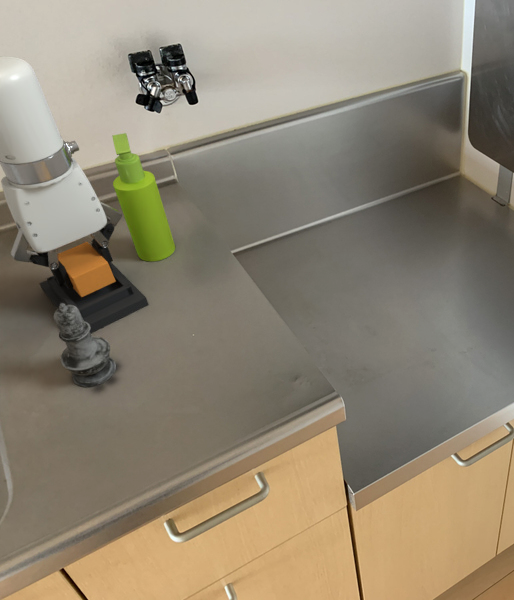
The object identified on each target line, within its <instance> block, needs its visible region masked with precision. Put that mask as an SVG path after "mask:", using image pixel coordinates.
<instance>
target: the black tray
mask: <svg viewBox="0 0 514 600" xmlns="http://www.w3.org/2000/svg"><path fill="white" fill-rule="evenodd" d="M110 264H111V267H112V269H113V270H112V274H113V276H114V278H115V281H116V282H114V283H111V284H109V285H107V286H105V287H103V288H101V289H99V290H96V291H94V292H92V293H90V294H88V295H86V296H84V297H81V296H80V295H79V294H78V293H77V292H76V291H75V289H74V288H73V289H71V290H69V289H68V288H67V287H66V286H65V284H64V283H63V284H61V285H59V284H58V282H57V281H56V279H55V277H54V275H52V276H50V277H47V278H46V280H44V281H42V282H39V286H40V288H41V290H42V291H43V293H44V294H45V295H46V297H47V298H48V299H49V300H50V301H51V303H52V304H53V305H54V307H55V308H56V310H57V309H58V308H60V307H59V305H60V303H63V304H65V305H73V306H75V307H77V308H78V309H79V311H80V314H81V316H82V318H83V320H84V321H85V322H87V323H88V324H89V325H90V333H91V334H93V333H94V332H96V331H98V330H100V329H103V328H105V327H107V326H109V325H111V324H113V323H114V322H116V321H119V320H121V319H123V318H125V317H127V316H129V315H131V314H133V313H135V312H137V311H139V310H141V309H143V308H145V307H147V306H149V302H148V299H147V297H146V296H145V294H143V293H142V291H140V289H139V288H137V286H135V284H134V283H132V281H130V279H129V278H128V277H127V276H126V275H125V274H124V273H123V272H121V270H120V269H118V267H117V266H116V265H115V264H113V261H112V262H110Z"/></svg>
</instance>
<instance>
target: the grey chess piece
mask: <svg viewBox="0 0 514 600" xmlns="http://www.w3.org/2000/svg"><path fill="white" fill-rule="evenodd" d="M59 307H60V308H58V309H57V308H56V310H55V311H54V313H53V319H54V322H55V324H56V326H57V327H58V330H59V333H58V337H59V339H60V340H61V341H62V342H64V343H65V345H66V347H65V349H64V350H63V351H62V352H61V355H60V359H59V361H60V364H61V366H63V368H64V369H67V370H68V371H69V372H70V373H72V381H73V383H75V385H77V386H79V387H82V388H92V387H96V386H97V387H98V386H100V385H102V384H103V383H105V382H107V381H108V380H109V379H110V378H112V377H113V375H114V374H115V373H116V369H117V365H116V362H115V360H114V359H113V358H111V357H110V353H111V345H110V342H109V341H108V340H107V339H106V338H103V337H101V336H93V335H92V333H90V325H89V324H88V323H87V322H85V321H84V320H83V318H82V316H81V314H80V311H79V309H78V308H77V307H75V306H73V305H65V304H63V303H60V305H59Z"/></svg>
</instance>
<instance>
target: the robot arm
mask: <svg viewBox="0 0 514 600" xmlns="http://www.w3.org/2000/svg"><path fill="white" fill-rule="evenodd" d="M78 151H80V147H79V145H78V143H77V142H76V141H75V140H71V141H65V140H63V138H62V135H61V133H60V130H59V127H58V125H57V122H56V120H55V118H54V116H53V113H52V111H51V108H50V106H49V103H48V101H47V98H46V95H45V93H44V90H43V88H42V85H41V83H40V81H39V78H38V76H37V74H36V72H35V70H34V68H33V66H32V65H31V64H30V63H29V62H28V61H26V60H25V59H22V58H20V57H16V56H6V55H4V56H3V55H2V56H0V167H1V169H2V171H3V173H4V175H5V176H4V177H2V179H1V181H0V182H1V188H2V191H3V194H4V198H5V202H6V204H7V207H8V210H9V211H10V214H11V217H12V219H13V221H14V224H15V226H16V228H17V230H18V231H17V234H16V237H15V240H14V242H13V245H12V248H11V251H10V256H11V257H12V258H13V260H14V261H16V262H23V263H32V264H34V265H37V266H41V267H46V268H49V269H50V271H51V273H52V276H54V277H55V279H56V281H57V282H58V284H59V285H61V284H63V283H64V284H65V286H66V287H67V288H68V289H69V290H71V289H73V287H74V286H73V284H72V282H71V280H70V278H69V276H68V274H67V271H66V269H65V267H64V266H63V265H62V263H61V262H60V261H59V260H58V254H59V252H58V249H59V248H62V247H64V246H66V245H69V244H71V243H73V242H74V243H75V242H76V241H78V240H81V239H84V238H86V237H87V236H90V237H91V238H92V240H91V243H90V245H91V246H92V247H93V248H94V249H95V250H96V251H97V252H98V253H99V254H100V255H101V256H102V257H103V258H104V259H105V260H106V261H107V262H108V264H109V266H110V269H111V271H112V270H113V269H112V267H111V264H110V262H112V263H113V262H114V259H113V257H112V255H111V252H110V249H109V247H110V239H111V237H112V235H113V233H114V231H115V227H116V226H118V224H119V222H120V221H121V219H122V217H123V213H121V212H120V211H119V210H118V209H117V208H114V207H112V206H110V205H108V204H107V203H104V202H102V201H100V199H99V197H98V196H97V194H96V191H95V189H94V187H93V186H92V184H91V182H90V180H89V178H88V177H87V175H86V174H85V172H84V170H83V169H82V167H81V166H80V164H79V163H78V162H77V161H76V159H75V158H74V157H73V154H75V153H76V152H78ZM29 246H30V247H31V249H32V250H28V249H29Z"/></svg>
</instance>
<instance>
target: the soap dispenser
mask: <svg viewBox="0 0 514 600" xmlns="http://www.w3.org/2000/svg"><path fill="white" fill-rule="evenodd" d="M111 137H112V142H113V146H114V150H115V154H116V155H117V156H116V158H114V164H115V167H116V170H117V172H118V176H117V177H115V178H114V180H113V181H112V186H113V189H114V192H115V194H116V198H117V200H118V203H119V206H120V208H121V211H122V215H123V217H124V220H125V223H126V226H127V228H128V231H129V234H130V237H131V239H132V243H133V245H134V249H135V252H136V254H137V256H138V258H139V259H140V260H141V261H145V262H151V263H152V262H159V261H163V260H165V259H167V258H169V257H170V256H172V255H173V254H174V252H175V251H176V244H175V241H174V237H173V233H172V231H171V227H170V224H169V221H168V217H167V214H166V211H165V207H164V204H163V201H162V197H161V194H160V191H159V187H158V184H157V181H156V177H155V174H154V173H152V172H151V171H148V170H144V168H143V166H142V162H141V159H140V156H139V155H138V154H137V153H132V149H131V147H130V142H129V139H128V135H127V132H124V133H118V134H113V135H112V136H111Z"/></svg>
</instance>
